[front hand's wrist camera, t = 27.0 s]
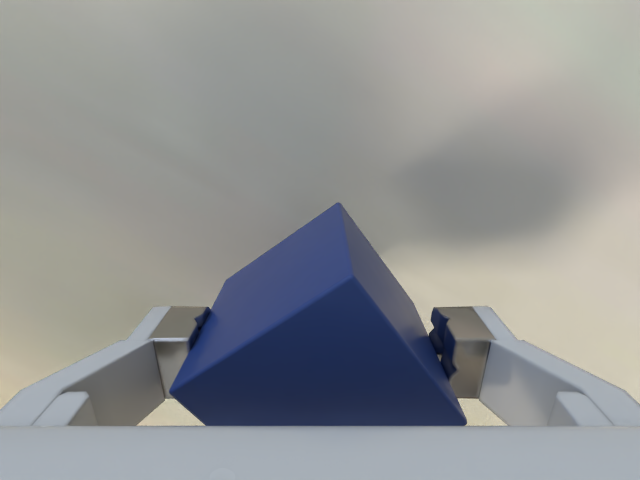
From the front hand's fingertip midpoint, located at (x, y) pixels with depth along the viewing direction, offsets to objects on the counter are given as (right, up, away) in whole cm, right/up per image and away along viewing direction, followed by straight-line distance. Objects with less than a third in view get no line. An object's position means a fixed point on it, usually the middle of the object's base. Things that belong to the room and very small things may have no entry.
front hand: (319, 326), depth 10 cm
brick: (0, +1, +2) cm, 2 cm away
